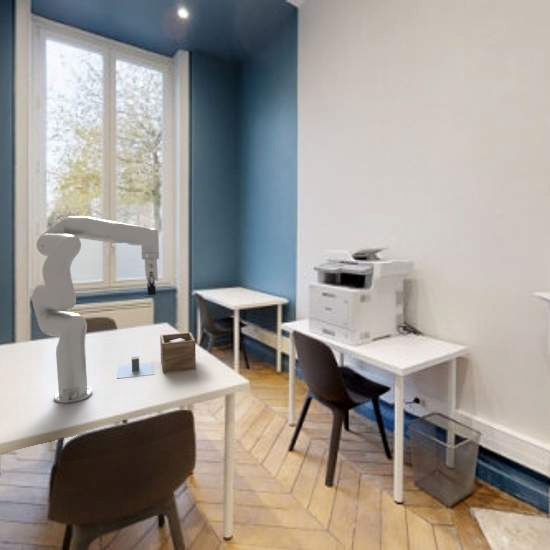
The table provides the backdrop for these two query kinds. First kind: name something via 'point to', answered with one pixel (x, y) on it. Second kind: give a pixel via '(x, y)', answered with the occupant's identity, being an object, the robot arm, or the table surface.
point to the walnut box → (177, 352)
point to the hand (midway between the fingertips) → (151, 293)
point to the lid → (135, 369)
